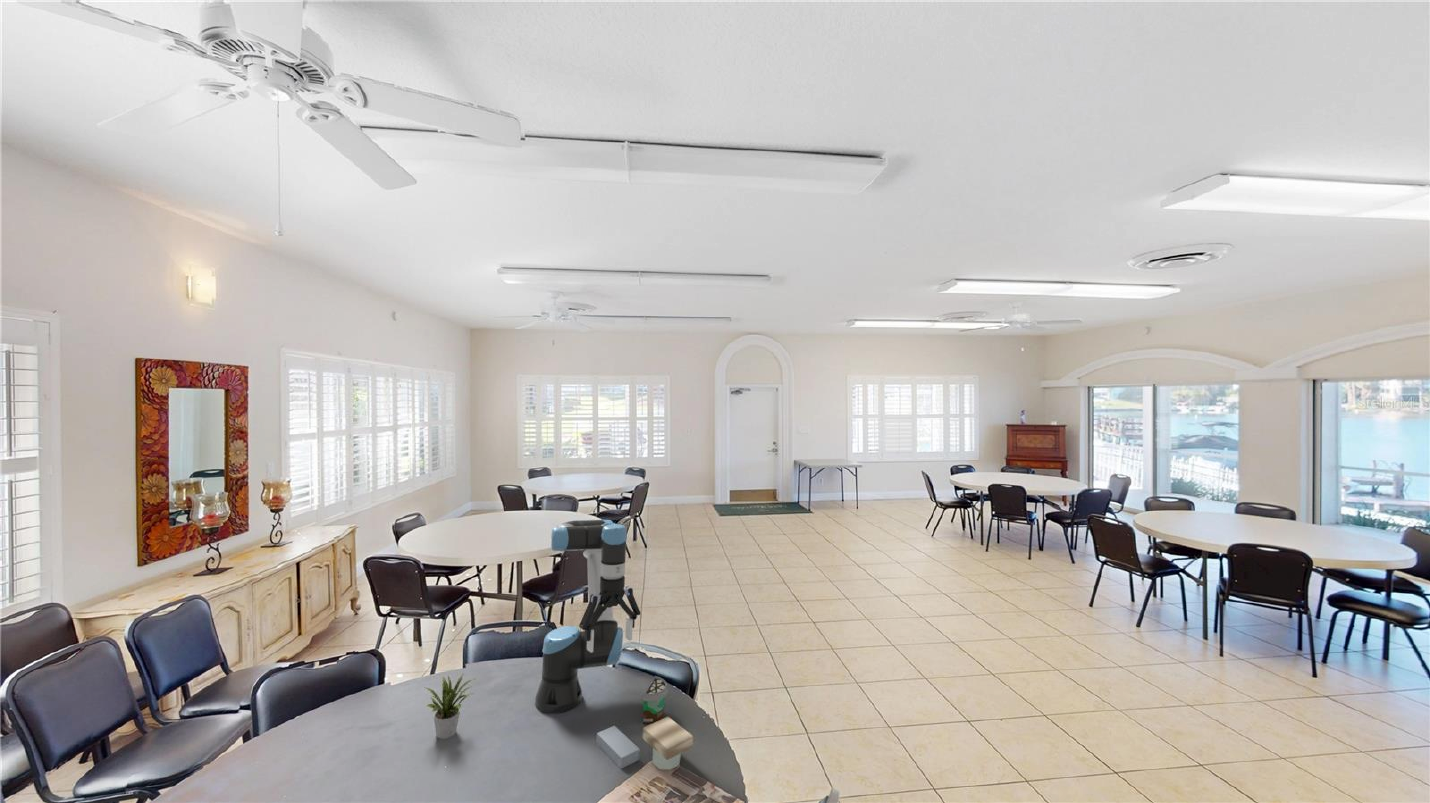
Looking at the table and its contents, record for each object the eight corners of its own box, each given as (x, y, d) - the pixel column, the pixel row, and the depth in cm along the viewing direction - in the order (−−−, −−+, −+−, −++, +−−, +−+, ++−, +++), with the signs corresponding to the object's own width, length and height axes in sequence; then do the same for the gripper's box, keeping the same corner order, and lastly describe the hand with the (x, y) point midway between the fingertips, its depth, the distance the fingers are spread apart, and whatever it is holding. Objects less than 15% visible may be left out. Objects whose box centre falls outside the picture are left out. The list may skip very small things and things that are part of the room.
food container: (660, 729, 161) (661, 697, 162) (641, 726, 163) (642, 694, 163) (671, 707, 173) (672, 677, 174) (654, 704, 175) (655, 675, 175)
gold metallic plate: (642, 738, 149) (642, 727, 149) (667, 726, 155) (668, 716, 155) (667, 760, 140) (667, 748, 140) (692, 746, 146) (693, 736, 146)
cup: (648, 758, 147) (648, 740, 148) (669, 747, 152) (670, 730, 153) (663, 773, 142) (664, 754, 142) (685, 761, 147) (686, 743, 147)
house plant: (486, 728, 159) (489, 674, 159) (446, 754, 146) (449, 696, 147) (454, 715, 165) (456, 663, 165) (413, 739, 152) (416, 683, 153)
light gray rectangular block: (596, 743, 153) (596, 733, 153) (614, 735, 157) (614, 725, 157) (621, 768, 143) (621, 757, 143) (639, 759, 147) (639, 748, 147)
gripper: (581, 586, 149) (578, 660, 149) (652, 571, 166) (650, 638, 165) (569, 579, 155) (566, 651, 154) (639, 565, 171) (637, 630, 171)
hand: (609, 644), depth 160 cm, fingers open, 13 cm apart
